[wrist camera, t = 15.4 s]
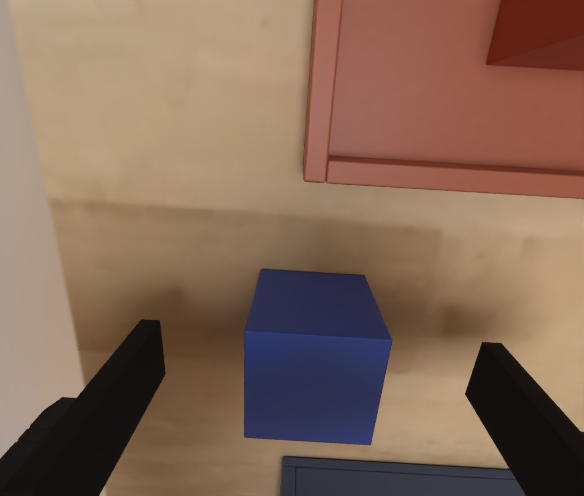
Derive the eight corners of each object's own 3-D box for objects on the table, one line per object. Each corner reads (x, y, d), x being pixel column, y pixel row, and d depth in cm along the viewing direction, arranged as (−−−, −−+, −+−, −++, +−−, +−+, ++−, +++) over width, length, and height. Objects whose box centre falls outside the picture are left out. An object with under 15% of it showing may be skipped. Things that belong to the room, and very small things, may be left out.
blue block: (258, 353, 17) (243, 438, 13) (260, 268, 16) (244, 331, 11) (351, 359, 17) (371, 445, 13) (364, 275, 16) (392, 339, 11)
